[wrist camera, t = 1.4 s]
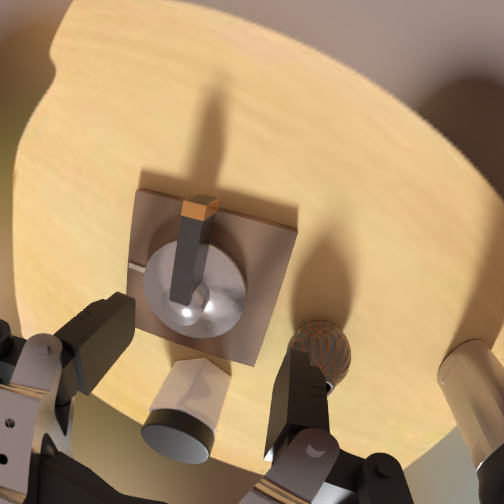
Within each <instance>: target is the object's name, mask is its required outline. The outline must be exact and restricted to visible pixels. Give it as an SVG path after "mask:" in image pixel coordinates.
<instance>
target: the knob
mask: <svg viewBox="0 0 504 504" xmlns="http://www.w3.org/2000/svg"><path fill="white" fill-rule="evenodd" d="M219 201H220V199H218V198H214V197H210V196H206V195H202V194H198V195H196V196H193V197H191V198H188V199H186V200H184V201H183V206H182V212H181V215H182V216H181V222H180V228H179V234H178V239H175V240H172V241H171V242H169V243H167V244H166V245H164V246H163V247H161V248H160V249H159V250H157V251H156V252H155V253H154V254H153V255H152V257H151V258H150V259H149V261H148V263H147V265H146V268H145V271H144V278H143V284H144V291H145V296H146V298H147V301H148V303H149V305H150V307H151V309H152V310H153V312H154V313H155V314H156V316H157V317H158V318H159V319H160V320H161V321H162V322H163V323H164V324H165V325H167V326H168V327H169V328H171V329H172V330H174V331H176V332H178V333H180V334H183V335H185V336H189V337H194V338H211V337H216V336H219V335H221V334H223V333H225V332H227V331H228V330H230V329H231V328H232V327H233V326H234V325H235V324H236V323H237V321H238V320H239V318H240V316H241V314H242V312H243V309H244V306H245V303H246V298H247V283H246V279H245V276H244V273H243V271H242V269H241V267H240V265H239V264H238V262H237V261H236V259H235V258H234V257H233V256H232V255H231V254H230V253H229V252H228V251H227V250H226V249H224V248H223V247H221V246H220V245H218V244H216V243H214V242H212V241H210V239H211V235H212V230H213V225H214V220H215V216H216V212H217V210H218V205H219Z"/></svg>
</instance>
